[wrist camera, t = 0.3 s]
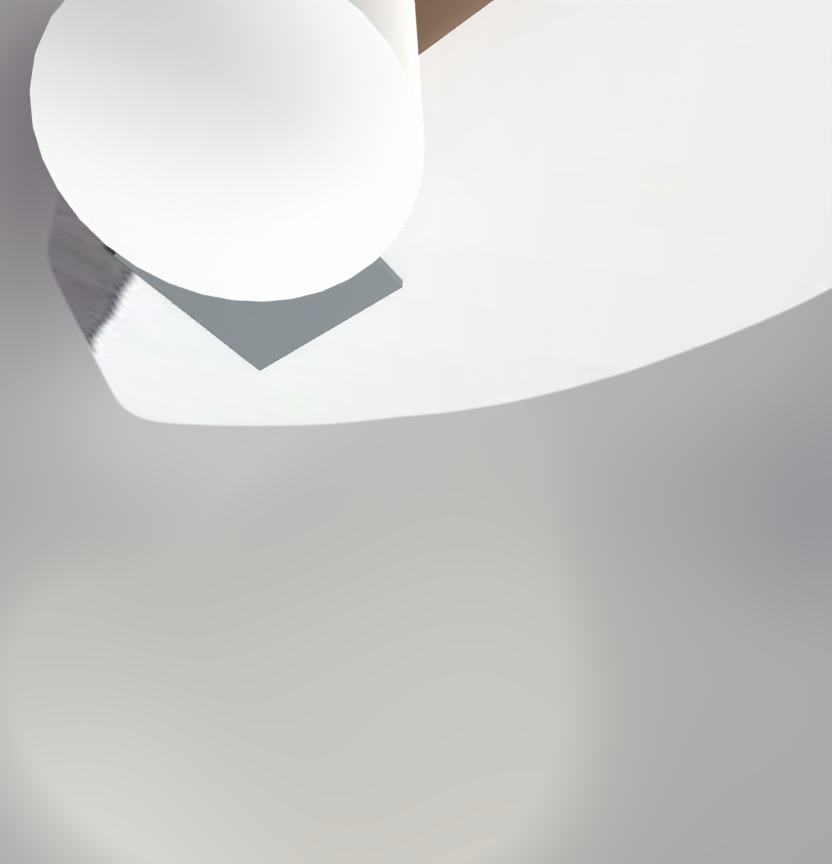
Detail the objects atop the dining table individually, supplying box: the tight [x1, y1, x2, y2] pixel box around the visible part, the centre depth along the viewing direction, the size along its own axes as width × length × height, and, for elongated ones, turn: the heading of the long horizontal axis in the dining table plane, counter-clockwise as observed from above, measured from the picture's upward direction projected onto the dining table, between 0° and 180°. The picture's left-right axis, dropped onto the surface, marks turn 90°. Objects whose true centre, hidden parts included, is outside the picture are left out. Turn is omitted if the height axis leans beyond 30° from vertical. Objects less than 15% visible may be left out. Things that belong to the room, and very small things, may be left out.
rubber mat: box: [114, 252, 402, 371], centre depth 48 cm, size 12×12×1 cm
